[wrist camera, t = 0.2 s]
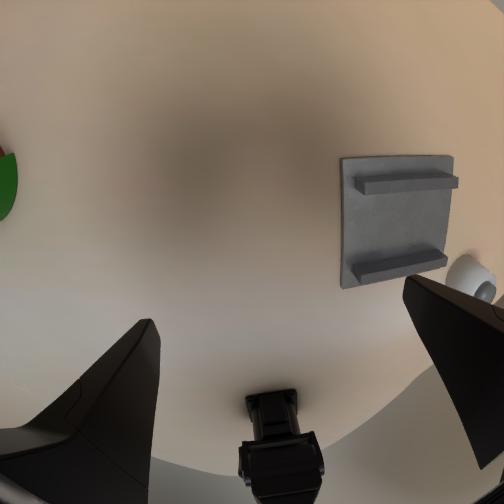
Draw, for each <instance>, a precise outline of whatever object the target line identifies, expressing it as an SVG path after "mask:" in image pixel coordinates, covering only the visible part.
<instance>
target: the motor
mask: <svg viewBox="0 0 504 504" xmlns="http://www.w3.org/2000/svg"><path fill="white" fill-rule="evenodd" d="M16 189H17V167H16V161H15V156H14V153H13V154H9V155H6V156H5V155H4V152H3V150H2V149H1V147H0V221H2V220H3V219H4V218H5V217H6V216H7V215H8V213H9V212H10V210H11V208H12V206H13V203H14V200H15V195H16Z"/></svg>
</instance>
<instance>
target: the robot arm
mask: <svg viewBox="0 0 504 504" xmlns="http://www.w3.org/2000/svg"><path fill="white" fill-rule="evenodd" d="M403 301H404V304H405V306H406V308H407V310H408V312H409V315H410V317H411V319H412V321H413V324H414V326H415V328H416V331H417V333H418V335H419V337H420V338H421V340H422V342H423V344H424V346H425V348H426V349H427V351H428V353H429V355H430V357H431V359H432V361H433V363H434V365H435V366H436V368H437V370H438V372H439V374H440V376H441V378H442V380H443V382H444V384H445V386H446V389H447V390H448V393H449V395H450V397H451V399H452V401H453V403H454V406H455V408H456V410H457V412H458V414H459V417H460V419H461V421H462V423H463V426H464V429H465V431H466V433H467V436H468V439H469V441H470V444H471V446H472V449H473V451H474V454H475V457H476V460H477V462H478V465H479V468H480V469H481V470H482V469H484V468H485V467H486V466H488V465H489V464H491V463H492V462H493V461H495V460H496V459H498V458H499V457H500V456H502V455H503V454H504V309H502V308H500V307H497V306H495V305H493V304H492V305H491V304H490V303H488V302H485V301H483V300H480V299H478V298H476V297H473V296H471V295H468V294H466V293H463V292H461V291H458V290H456V289H453V288H451V287H448V286H446V285H443V284H441V283H438V282H435V281H433V280H430V279H428V278H425V277H422V276H420V275H417V274H414V275H410V276H407V277H406V279H405V284H404V290H403ZM160 347H161V340H160V336H159V333H158V331H157V329H156V326H155V324H154V322H153V320H152V319H150V318H149V319H141V320H139V321H138V322H137V323H136V324H135V325H134V326H133V327H132V328H131V329H130V330H129V331H127V332H126V333H125V334H124V335H123V336H122V337H121V338H120V339H119V340H118V341H117V342H116V343H115V344H114V345H113V346H112V347H111V348H110V349H109V350H107V351H106V352H105V353H104V354H103V355H102V356H101V357H100V358H99V359H98V360H97V361H96V362H95V363H94V364H93V365H92V366H91V367H90V368H89V369H88V370H87V371H86V372H85V373H84V374H83V375H82V376H81V377H80V378H79V379H77V380H76V381H75V382H74V383H73V384H72V385H71V386H70V387H69V388H68V389H67V390H66V391H65V392H64V393H63V394H62V395H61V396H59V397H58V398H57V399H56V400H55V401H54V402H52V403H51V404H50V405H49V406H48V407H46V408H45V409H44V410H43V411H42V412H40V413H39V414H38V415H37V416H36V417H35V418H33V419H32V420H31V421H30V422H28V423H27V424H25V425H23V426H20V427H17V428H8V429H7V428H6V429H0V504H148V485H149V470H150V458H151V447H152V437H153V427H154V419H155V410H156V402H157V394H158V387H159V377H160ZM245 400H246V405H247V408H248V412H249V416H250V419H251V422H252V423H253V431H254V440H255V441H242V446H241V447H239V468H238V475H239V476H240V477H241V478H242V479H243V480H244V482H245V484H246V486H247V487H251V488H252V493H253V496H254V498H255V500H256V502H257V504H314V502H315V500H316V498H317V496H318V493H319V490H320V487H321V484H322V478H321V476H323V475H324V461H323V457H322V453H321V450H320V447H319V445H318V442H317V439H316V436H315V433H314V431H310V432H309V433H303V434H301V433H300V429H299V424H298V419H297V391H296V390H287V391H281V392H275V393H269V394H262V395H255V396H248V397H246V398H245ZM472 504H504V469H503V473H502V476H501V480H500V483H499V485H497V486H496V487H495V488H493V489H492V490H491V491H489V492H488V493H486V494H485V495H483V496H482V497H481V498H479V499H478V500H476V501H475V502H473V503H472Z"/></svg>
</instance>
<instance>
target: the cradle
mask: <svg viewBox="0 0 504 504" xmlns="http://www.w3.org/2000/svg"><path fill="white" fill-rule="evenodd" d="M453 161H454V157H452V156H375V157H355V158H340V171H341V204H342V247H341V281H340V286H341V288H342V289H346V288H352V287H357V286H362V285H367V284H372V283H377V282H381V281H386V280H391V279H395V278H400V277H405V276H409V275H413V274H418V273H422V272H426V271H431V270H435V269H439V268H441V267H445V266H446V265H447V260H448V257H447V256H446V255H445V254H443V252H444V247H445V241H446V235H447V228H448V221H449V213H450V204H451V193H452V189H454V188H458V179H459V178H458V177H456V176H454V175H453Z"/></svg>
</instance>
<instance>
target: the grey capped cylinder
mask: <svg viewBox="0 0 504 504" xmlns="http://www.w3.org/2000/svg"><path fill="white" fill-rule="evenodd" d="M495 285H496V277H495V275H494V274H492V273H491V272H490V271H489V270H488V269H486V268H485V267H484V266H483V265H481V264H480V263H479V262H478V261H476V260H475V259H474V258H473V257H471V256H470V255H463V256H461V257H460V258H458V259H457V260H456V261H455V262H454V263H453V265H452V266H451V267H450V269H449V271H448V274H447V277H446V286H448V287H451V288H453V289H456V290H458V291H461V292H463V293H466V294H468V295H471V296H473V297H476V298H478V299H480V300H483V301H485V302H488V303H490V304H491V302H492V301H493V299H494V297H495V294H496V287H495Z"/></svg>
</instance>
